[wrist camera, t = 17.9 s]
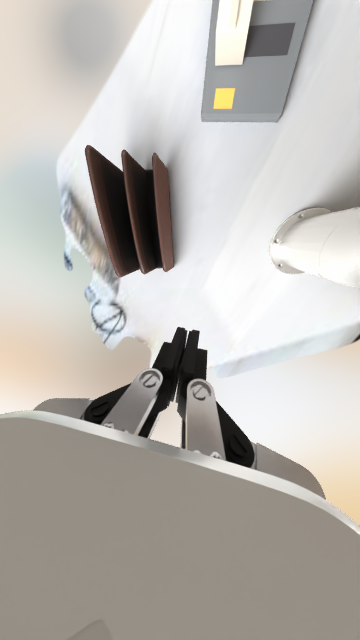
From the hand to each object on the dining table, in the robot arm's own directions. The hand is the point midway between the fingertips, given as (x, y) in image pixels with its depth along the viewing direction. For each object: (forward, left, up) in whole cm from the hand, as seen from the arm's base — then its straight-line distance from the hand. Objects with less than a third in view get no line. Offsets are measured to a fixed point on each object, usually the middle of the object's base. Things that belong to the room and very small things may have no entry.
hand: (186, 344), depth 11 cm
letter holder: (+15, -9, -32) cm, 37 cm away
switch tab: (+2, -32, -30) cm, 44 cm away
